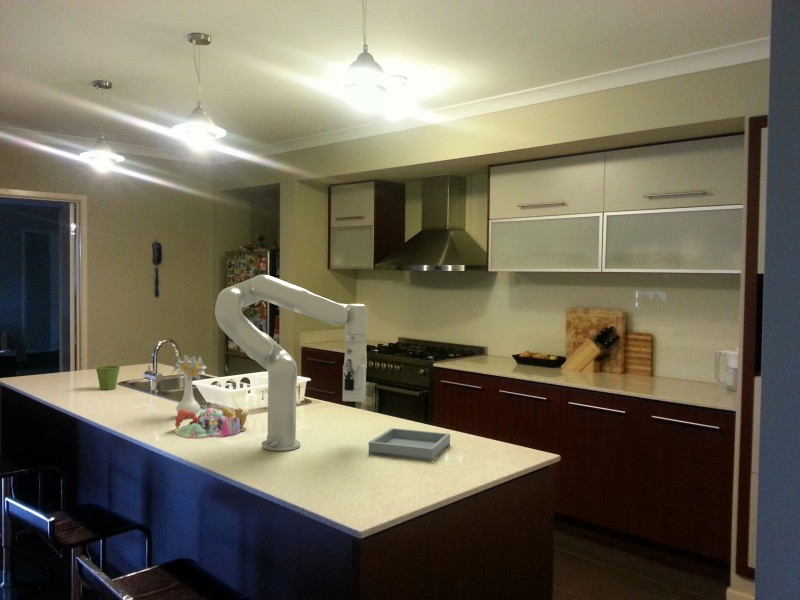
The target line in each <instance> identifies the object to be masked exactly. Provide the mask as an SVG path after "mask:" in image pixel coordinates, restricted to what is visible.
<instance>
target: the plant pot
mask: <svg viewBox="0 0 800 600" xmlns="http://www.w3.org/2000/svg"><path fill="white" fill-rule="evenodd" d="M94 368H95V370H96V374H97V379H98V384H99V390H101V391H105V390H109V391H112V390H115V389H116V388H117V382H118V377H119V372H120V369H121V365H103V366H95V367H94Z"/></svg>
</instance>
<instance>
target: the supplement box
mask: <svg viewBox="0 0 800 600" xmlns="http://www.w3.org/2000/svg"><path fill="white" fill-rule="evenodd" d="M343 368H344V364H343V365H342V402H355V403H357V402H359V403H363V402H364V401H365V400H366V397H367V396H366V395H367V393H366V391H367V390H366V389H367V368H366V364H364V365H360V366H359V372H355V371H354V376H353V379H354V390H353V391H349V390H345V378H344V376H345V375H344V370H343ZM349 370H353V369H352V366H350V367H349ZM350 374H351V373H350Z"/></svg>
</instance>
